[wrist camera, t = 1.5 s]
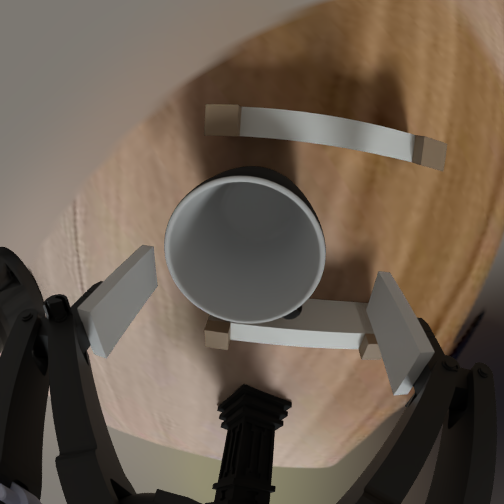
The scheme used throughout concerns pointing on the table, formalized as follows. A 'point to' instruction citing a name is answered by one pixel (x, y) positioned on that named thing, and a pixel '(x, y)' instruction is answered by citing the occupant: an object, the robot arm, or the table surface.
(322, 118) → the chute
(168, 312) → the table surface
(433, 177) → the table surface
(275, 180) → the mug
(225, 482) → the chess piece
